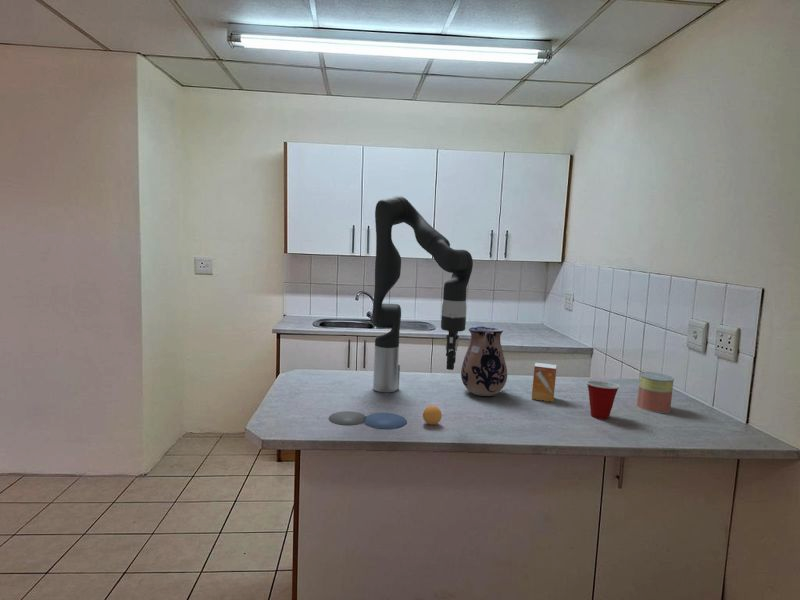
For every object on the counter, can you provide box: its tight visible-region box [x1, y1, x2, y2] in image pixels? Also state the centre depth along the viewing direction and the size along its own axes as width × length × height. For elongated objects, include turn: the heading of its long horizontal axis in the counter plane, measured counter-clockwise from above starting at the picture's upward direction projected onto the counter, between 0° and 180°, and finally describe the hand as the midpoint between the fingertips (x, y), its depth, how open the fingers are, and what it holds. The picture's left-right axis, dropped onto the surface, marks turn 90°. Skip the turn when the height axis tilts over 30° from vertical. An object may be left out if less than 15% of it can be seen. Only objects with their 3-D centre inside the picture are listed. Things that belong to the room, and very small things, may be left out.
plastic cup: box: [586, 380, 621, 420], centre depth 178 cm, size 11×11×12 cm
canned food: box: [636, 371, 675, 414], centre depth 190 cm, size 11×11×12 cm
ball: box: [422, 405, 443, 426], centre depth 164 cm, size 6×6×6 cm
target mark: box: [363, 412, 408, 430], centre depth 165 cm, size 14×14×1 cm
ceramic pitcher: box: [460, 325, 508, 397], centre depth 200 cm, size 18×21×25 cm
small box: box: [531, 362, 558, 403], centre depth 195 cm, size 8×6×13 cm
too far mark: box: [328, 410, 367, 426], centre depth 166 cm, size 12×12×1 cm
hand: (450, 366), depth 160 cm, fingers open, 8 cm apart
